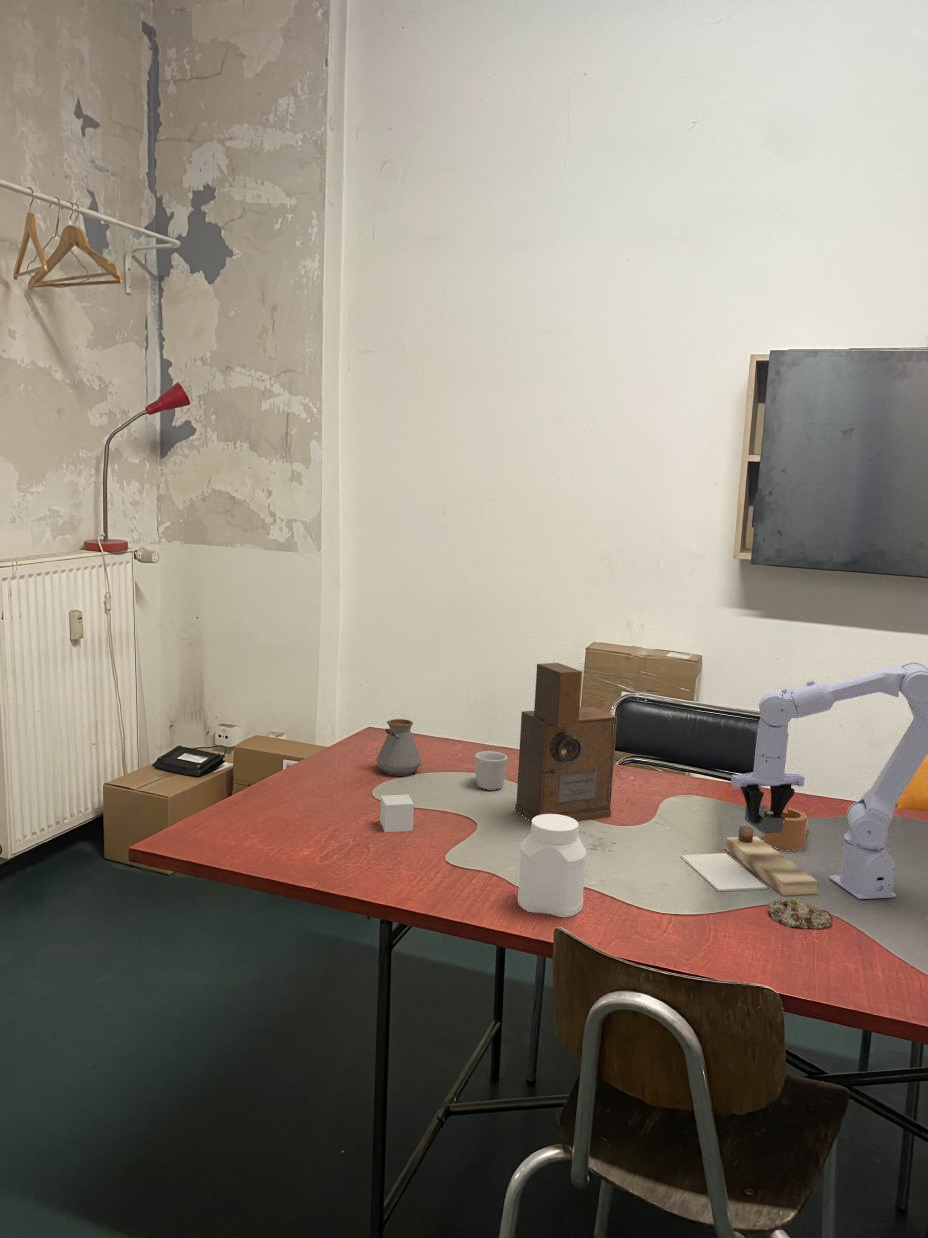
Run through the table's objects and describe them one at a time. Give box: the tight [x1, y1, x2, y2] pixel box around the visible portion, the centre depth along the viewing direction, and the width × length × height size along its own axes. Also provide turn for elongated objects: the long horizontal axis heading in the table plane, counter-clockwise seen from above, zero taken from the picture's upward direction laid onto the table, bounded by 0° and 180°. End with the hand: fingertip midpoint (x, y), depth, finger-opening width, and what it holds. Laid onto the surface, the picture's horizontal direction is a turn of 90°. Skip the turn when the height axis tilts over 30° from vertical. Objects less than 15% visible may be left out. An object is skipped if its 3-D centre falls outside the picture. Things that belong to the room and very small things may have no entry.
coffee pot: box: [375, 718, 422, 777], centre depth 225 cm, size 21×12×15 cm, turn 171°
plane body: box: [724, 825, 819, 897], centre depth 179 cm, size 22×7×5 cm, turn 12°
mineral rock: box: [768, 897, 834, 930], centre depth 158 cm, size 11×4×8 cm
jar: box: [517, 814, 587, 918], centre depth 159 cm, size 12×10×15 cm
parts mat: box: [679, 852, 768, 892], centre depth 177 cm, size 16×10×1 cm, turn 12°
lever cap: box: [744, 804, 784, 834], centre depth 178 cm, size 7×4×4 cm, turn 12°
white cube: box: [379, 794, 415, 833], centre depth 193 cm, size 6×6×6 cm
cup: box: [474, 750, 509, 791], centre depth 223 cm, size 11×8×8 cm
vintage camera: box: [514, 662, 618, 822], centre depth 201 cm, size 19×14×35 cm
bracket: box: [762, 806, 809, 852], centre depth 198 cm, size 18×8×7 cm, turn 155°
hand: (763, 821), depth 178 cm, fingers closed on lever cap, 4 cm apart
